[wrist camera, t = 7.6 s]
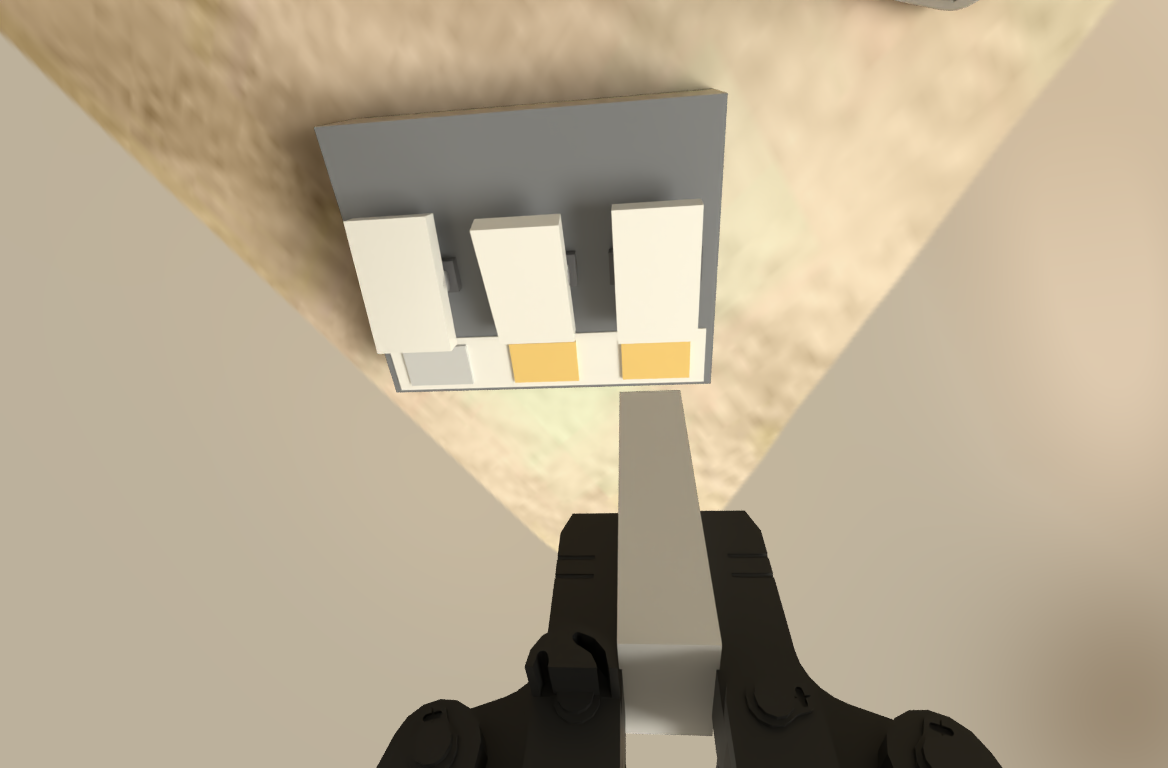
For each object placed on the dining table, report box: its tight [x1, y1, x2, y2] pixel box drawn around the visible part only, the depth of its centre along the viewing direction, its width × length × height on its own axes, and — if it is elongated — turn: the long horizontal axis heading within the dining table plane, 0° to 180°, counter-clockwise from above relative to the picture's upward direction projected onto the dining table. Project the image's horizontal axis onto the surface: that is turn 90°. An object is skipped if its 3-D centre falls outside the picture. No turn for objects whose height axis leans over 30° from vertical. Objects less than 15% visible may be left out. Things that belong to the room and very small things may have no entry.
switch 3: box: [611, 199, 704, 344], centre depth 24 cm, size 6×4×2 cm, turn 4°
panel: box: [314, 89, 728, 392], centre depth 27 cm, size 14×18×5 cm
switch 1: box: [343, 213, 457, 354], centre depth 25 cm, size 6×4×2 cm, turn 4°
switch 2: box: [470, 214, 576, 344], centre depth 25 cm, size 6×4×2 cm, turn 5°
